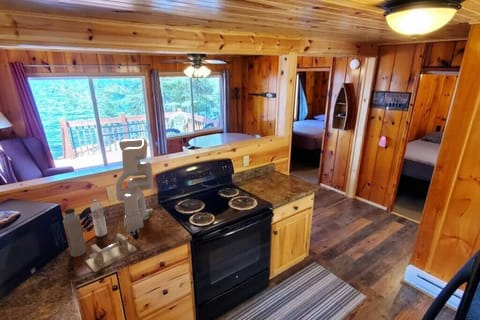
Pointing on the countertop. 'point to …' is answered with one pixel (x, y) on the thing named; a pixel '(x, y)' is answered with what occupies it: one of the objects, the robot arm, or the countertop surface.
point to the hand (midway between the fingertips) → (136, 238)
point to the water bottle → (98, 219)
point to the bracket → (110, 254)
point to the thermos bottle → (74, 233)
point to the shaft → (112, 246)
